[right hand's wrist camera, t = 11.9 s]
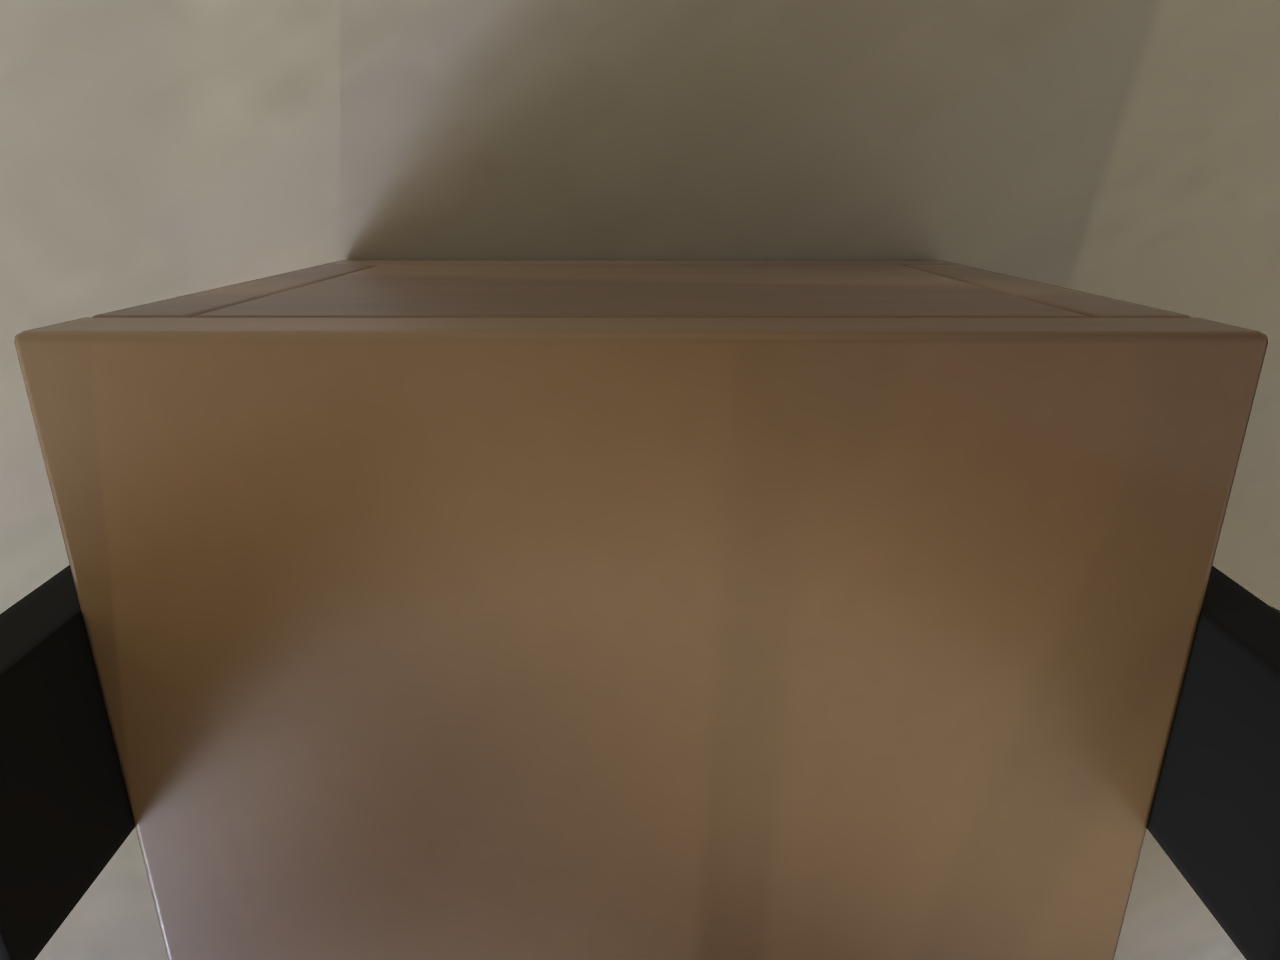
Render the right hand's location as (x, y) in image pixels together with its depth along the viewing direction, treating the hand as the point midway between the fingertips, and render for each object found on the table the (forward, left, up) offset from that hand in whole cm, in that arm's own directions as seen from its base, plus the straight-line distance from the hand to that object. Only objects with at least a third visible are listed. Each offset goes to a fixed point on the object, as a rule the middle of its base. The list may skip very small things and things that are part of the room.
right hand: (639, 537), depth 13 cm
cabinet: (+2, +4, -4) cm, 6 cm away
